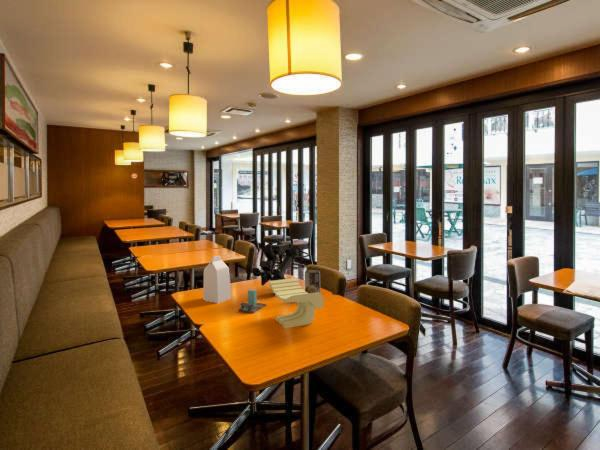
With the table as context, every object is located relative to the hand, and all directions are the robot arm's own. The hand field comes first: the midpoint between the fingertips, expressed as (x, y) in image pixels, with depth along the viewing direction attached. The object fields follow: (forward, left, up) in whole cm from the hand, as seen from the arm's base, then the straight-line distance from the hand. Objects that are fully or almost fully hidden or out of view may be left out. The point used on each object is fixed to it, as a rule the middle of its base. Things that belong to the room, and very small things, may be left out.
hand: (262, 285), depth 212 cm
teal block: (+13, -7, -9) cm, 17 cm away
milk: (-11, -27, -10) cm, 31 cm away
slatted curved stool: (+33, +15, -10) cm, 38 cm away
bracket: (+10, -6, -10) cm, 15 cm away
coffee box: (-6, +30, -10) cm, 33 cm away
